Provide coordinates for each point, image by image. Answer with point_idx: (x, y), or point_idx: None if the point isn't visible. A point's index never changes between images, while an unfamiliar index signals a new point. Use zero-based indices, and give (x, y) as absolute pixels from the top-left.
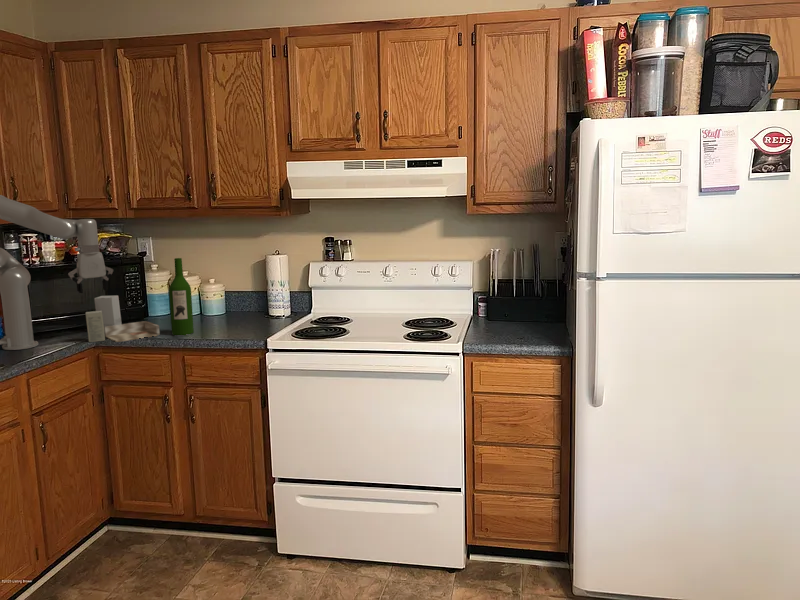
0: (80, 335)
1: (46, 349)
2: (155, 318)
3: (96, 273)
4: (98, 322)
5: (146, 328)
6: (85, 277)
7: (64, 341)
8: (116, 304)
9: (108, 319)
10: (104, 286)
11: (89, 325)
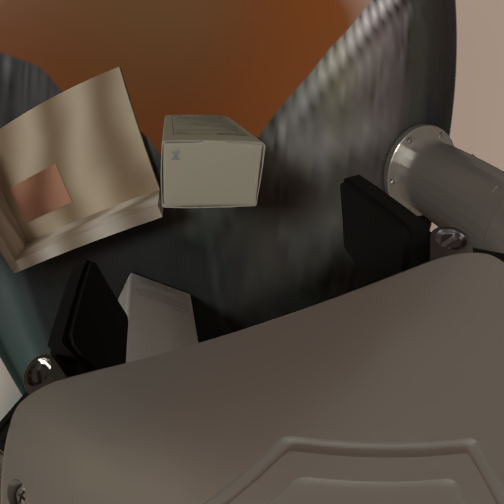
0: (249, 266)
1: (373, 78)
2: None
3: (182, 430)
4: (186, 128)
5: (18, 235)
6: (437, 263)
7: (309, 185)
8: None
9: (150, 311)
10: (98, 307)
11: (233, 126)
